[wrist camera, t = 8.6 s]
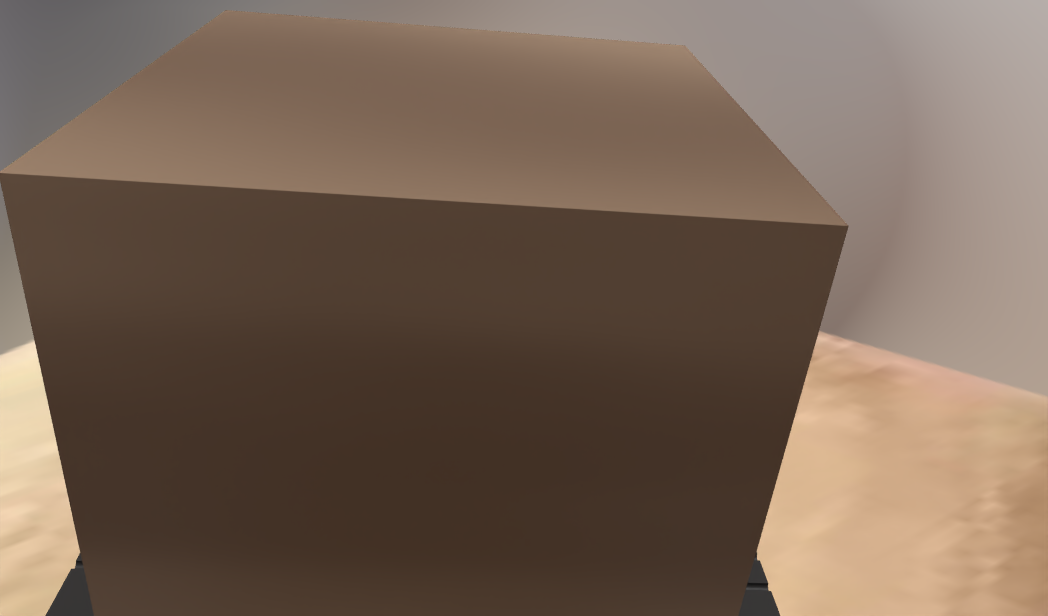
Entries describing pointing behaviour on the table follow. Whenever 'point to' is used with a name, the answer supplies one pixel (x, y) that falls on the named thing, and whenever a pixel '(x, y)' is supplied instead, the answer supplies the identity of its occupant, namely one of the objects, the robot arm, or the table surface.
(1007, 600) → the table surface
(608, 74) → the walnut post
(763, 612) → the robot arm
